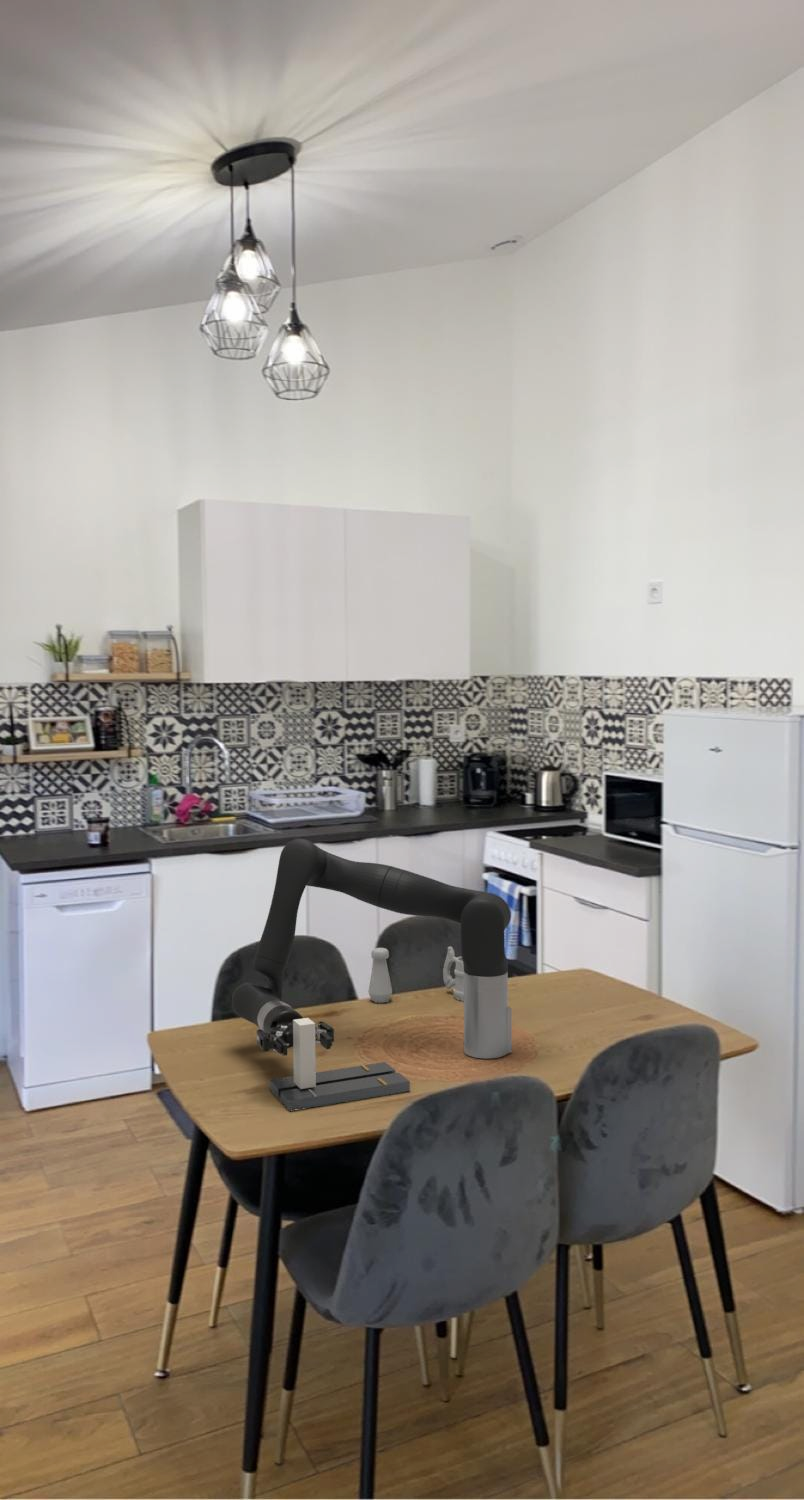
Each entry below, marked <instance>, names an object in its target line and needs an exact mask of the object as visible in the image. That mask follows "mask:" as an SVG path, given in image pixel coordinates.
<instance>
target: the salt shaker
mask: <svg viewBox="0 0 804 1500" xmlns="http://www.w3.org/2000/svg"><path fill="white" fill-rule="evenodd" d="M370 955H371V958H372V959H373V961H372V967H371V968H372V969H371V975H370V981H369V986H368V996H369V998H370V999H371V1002H373V1001H374V1002H375V1004H384V1003H383V1002H386V1003H388V1002H389V1001H390V998H391V996H392V994H393V989H392V987H393V986H392V983H391V978H390V972H389V969H388V968H389V967H388V963H387V959H389V957H390V952H389V950H388V949H387V948H384V947H375V948H373V949H372V950H371V953H370ZM387 1001H388V1002H387ZM374 1002H373V1003H374ZM377 1002H378V1003H377ZM381 1002H382V1003H381Z"/></svg>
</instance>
